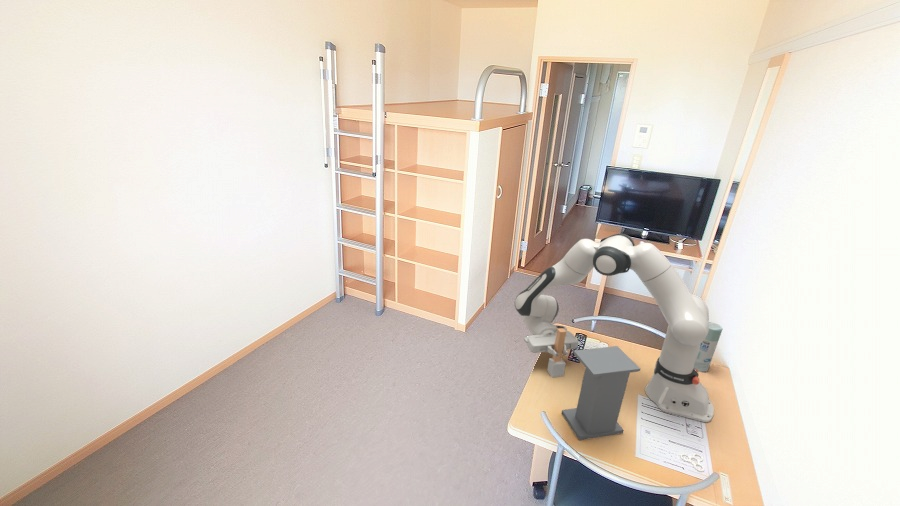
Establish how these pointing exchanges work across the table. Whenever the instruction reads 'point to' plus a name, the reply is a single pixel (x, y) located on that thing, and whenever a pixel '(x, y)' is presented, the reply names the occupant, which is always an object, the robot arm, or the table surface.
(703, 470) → the fidget spinner
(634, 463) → the table surface
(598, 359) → the stand
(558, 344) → the bar
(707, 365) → the spray paint can
